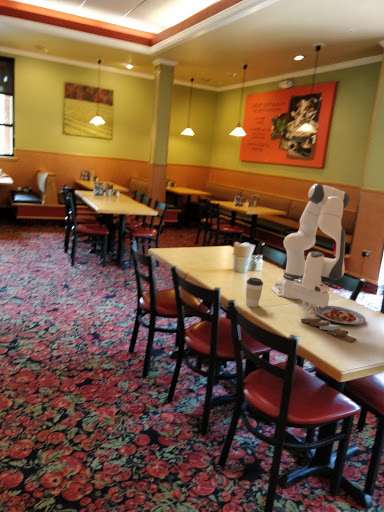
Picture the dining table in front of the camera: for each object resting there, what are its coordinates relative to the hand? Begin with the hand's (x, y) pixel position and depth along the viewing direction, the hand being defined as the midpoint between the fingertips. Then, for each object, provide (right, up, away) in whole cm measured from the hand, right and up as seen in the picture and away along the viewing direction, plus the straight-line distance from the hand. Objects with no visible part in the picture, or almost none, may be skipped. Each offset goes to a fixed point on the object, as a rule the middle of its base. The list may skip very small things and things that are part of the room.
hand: (306, 310), depth 211 cm
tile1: (-1, -5, +2) cm, 5 cm away
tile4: (+9, -9, -10) cm, 16 cm away
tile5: (+12, -10, -13) cm, 20 cm away
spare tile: (+6, -8, -6) cm, 11 cm away
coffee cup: (-25, 0, +19) cm, 31 cm away
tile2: (+2, -6, -2) cm, 7 cm away
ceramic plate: (+21, -6, +12) cm, 25 cm away
